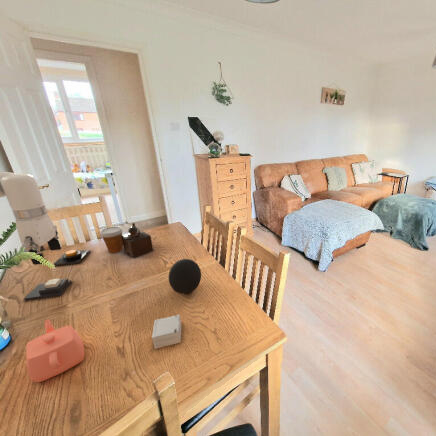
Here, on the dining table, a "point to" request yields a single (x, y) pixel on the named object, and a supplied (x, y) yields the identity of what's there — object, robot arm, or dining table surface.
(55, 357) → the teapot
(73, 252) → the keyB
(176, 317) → the small box
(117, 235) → the disposable coffee cup
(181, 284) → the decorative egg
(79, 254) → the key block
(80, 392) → the dining table surface
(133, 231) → the brown coffee grinder
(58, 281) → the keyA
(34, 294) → the dark grey base
